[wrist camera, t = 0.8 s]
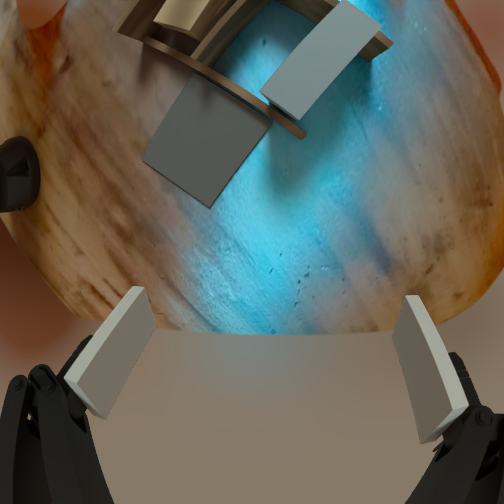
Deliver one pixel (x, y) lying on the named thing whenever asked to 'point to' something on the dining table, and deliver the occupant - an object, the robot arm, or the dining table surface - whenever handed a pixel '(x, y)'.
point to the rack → (231, 40)
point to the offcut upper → (188, 15)
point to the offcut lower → (216, 18)
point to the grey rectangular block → (319, 59)
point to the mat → (204, 139)
